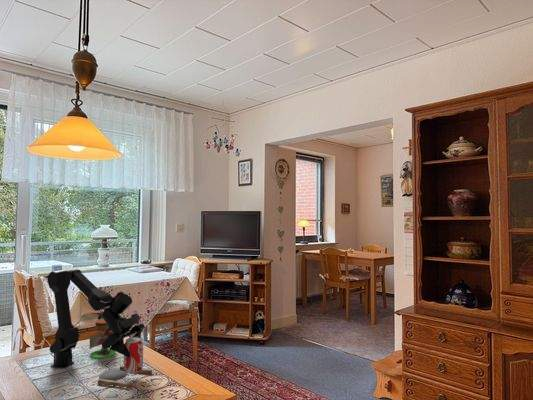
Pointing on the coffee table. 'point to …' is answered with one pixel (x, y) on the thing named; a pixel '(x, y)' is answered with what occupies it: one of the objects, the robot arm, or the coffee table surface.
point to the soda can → (134, 355)
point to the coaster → (112, 374)
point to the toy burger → (100, 341)
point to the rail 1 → (115, 383)
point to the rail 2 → (146, 371)
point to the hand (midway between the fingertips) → (136, 353)
